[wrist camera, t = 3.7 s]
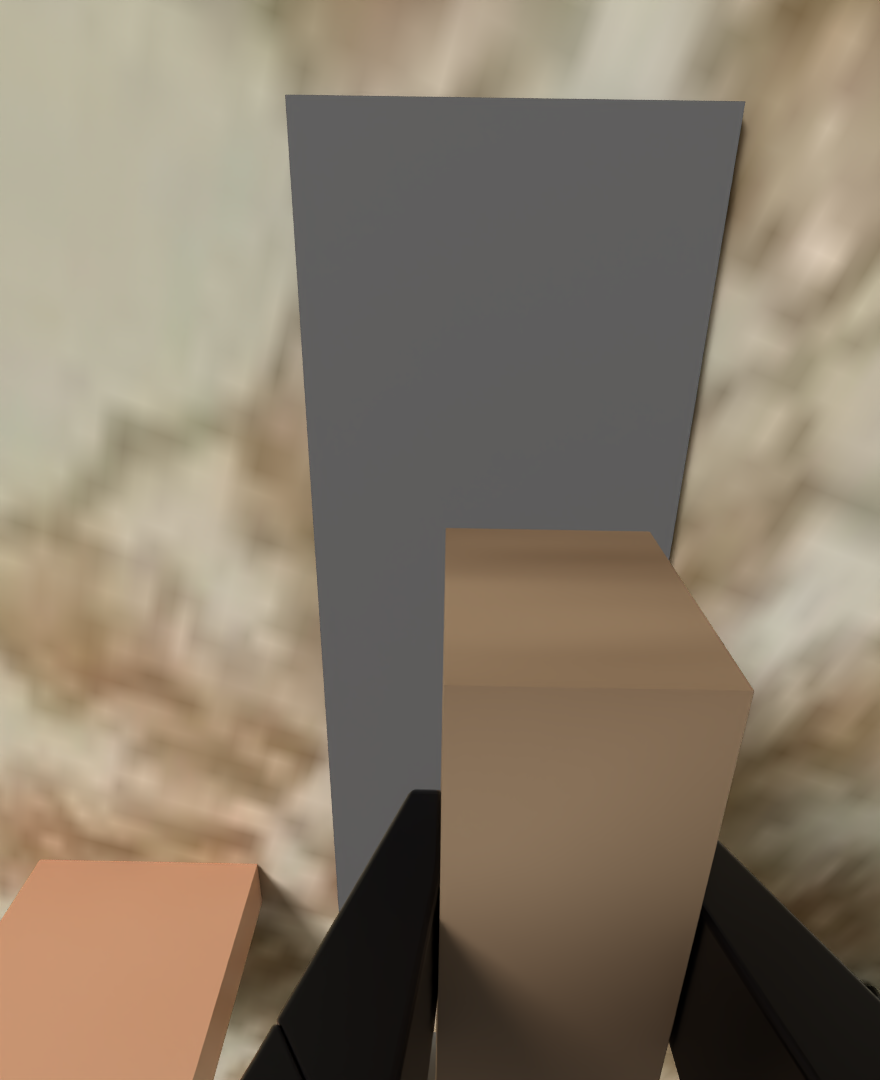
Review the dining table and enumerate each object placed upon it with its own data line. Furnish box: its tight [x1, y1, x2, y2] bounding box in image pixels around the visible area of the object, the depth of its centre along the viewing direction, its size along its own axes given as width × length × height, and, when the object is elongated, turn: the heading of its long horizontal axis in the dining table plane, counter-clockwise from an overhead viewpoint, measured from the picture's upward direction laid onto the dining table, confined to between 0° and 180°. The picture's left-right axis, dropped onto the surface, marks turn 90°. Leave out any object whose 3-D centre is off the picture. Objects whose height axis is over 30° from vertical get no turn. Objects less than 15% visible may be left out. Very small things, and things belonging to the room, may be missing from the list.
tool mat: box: [285, 95, 745, 912], centre depth 21 cm, size 26×10×1 cm, turn 179°
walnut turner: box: [427, 528, 754, 1080], centre depth 10 cm, size 14×5×3 cm, turn 179°
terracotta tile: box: [0, 860, 262, 1080], centre depth 22 cm, size 2×8×9 cm, turn 89°
